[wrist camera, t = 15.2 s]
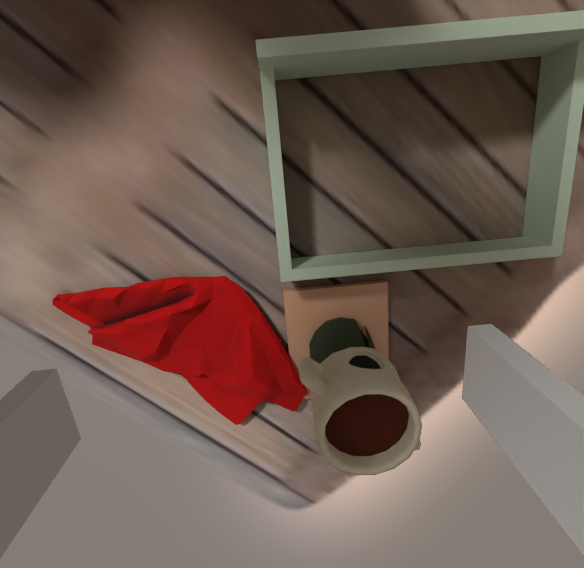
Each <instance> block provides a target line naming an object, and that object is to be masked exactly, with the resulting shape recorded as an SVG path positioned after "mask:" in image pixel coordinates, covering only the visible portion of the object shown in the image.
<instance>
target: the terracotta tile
mask: <svg viewBox="0 0 584 568" xmlns="http://www.w3.org/2000/svg"><path fill="white" fill-rule="evenodd" d="M283 297H284V307H285V317H286V327H287V337H288V347H289V357H290V359H291V361H292V362H293V365H294V367H295V369H296V371H297V374H298V376H299V378H300V374H299V361H300V359H301V358H302V357H304V356H306V357H309V358H310V350H309V343H310V341H311V339H312V337H313V335H314V332H315V331H316V330H317V329H318V328H319V327H320V326H321V325H322V324H323V323H324V322H326V321H328V320H332V319H335V318H339V317H343V318H352V319H355V320H356V321H357V324H358V327H359V329H360V330H361V331H362V332H363V334H364V335H365V336H366V337H367V335H366V332H365V329H364V326H365V327H366V328H367V330H368V332H369V334H370V336H371V338H372V340H373V343H374V346H375V350H377V351H379V352H381V353H382V354H383V355H384V356H385V357H386V358H387V359H388V360H389V352H388V282H387V281H386V280H377V281H367V282H356V283H345V284H334V285H324V286H313V287H302V288H291V289H283ZM306 388H307V387H306ZM307 391H308V394H307V395H306V396H304V397H303V399H308V398H311V390H310V389H309V388H307Z"/></svg>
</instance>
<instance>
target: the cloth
mask: <svg viewBox="0 0 584 568" xmlns="http://www.w3.org/2000/svg"><path fill="white" fill-rule="evenodd" d="M53 305H54V306H55V307H57V308H58V309H60V310H62V311H63V312H65V313H66V314H68V315H69V316H71V317H73V318H75V319H77V320H79V321H80V322H82V323H84V324H86V325H88V326H89V327H91V329H90V330H89V331H88V333H90V334H92V335H93V340H92V344H93V345H96V346H99V347H102V348H104V349H107V350H110V351H113V352H116V353H119V354H122V355H124V356H127V357H130V358H133V359H136V360H139V361H142V362H144V363H146V364H149V365H151V366H153V367H156V368H158V369H160V370H163V371H166V372H174V373H179V374H180V375H182V376H183V377H184V378H186V379H187V380H188V382H189V383H190V384H191V385H192V387H193V388H194V389H195V390H196V391H197V392H198V393H199V394H200V395H201V396H202V397H203V398H204V399H205V400H206V401H207V402H208V403H209V404H210V405H211V406H213V407H214V408H215V409H216V410H217V411H218V412H220V413H221V414H222V415H223V416H225V417H226V418H227V419H229V420H230V421H232V422H233V423H234V424H236V425H237V424H240V423H241V422H242V421H243V420H244V419H245V418H246V417H247V416H248V415H249V414H250V413H251V412H252V411H253V410H254V409H255V407H256V406H257V405H258V404H259V403H260V402H273V403H275V404H277V405H280V406H282V407H284V408H286V409H289V410H291V411H295V410H297V409H298V407H299V405H300V403H301V401H302V399H303V397H304V396H306V395H307V394H308V391H307V388H306V386H305V385H303V384H302V382H301V380H300V378H299V376H298V374H297V371H296V369H295V367H294V365H293V362H292V361H291V359H290V357H289V356H288V354H287V352H286V350H285V349H284V347H283V345H282V344H281V342H280V340H279V338H278V337H277V335H276V334H275V332H274V331H273V329H272V328H271V326H270V325H269V323H268V322H267V320H266V319H265V317H264V316H263V314H262V313H261V311H260V310H259V308H258V307H257V306H256V304H255V303H254V302H253V301H252V299H251V298H250V297H249V295H248V294H247V293H246V292H245V291H244V290H243V289H242V288H241V287H240V286H238V285H237V284H236V283H234V282H233V281H231V280H230V279H229V278H227V277H226V276H219V277H174V278H165V279H159V280H153V281H147V282H140V283H136V284H134V285H132V286H129V287H114V288H101V289H95V290H90V291H85V292H80V293H74V294H61V295H57V296H56V297H55V298H54V299H53Z"/></svg>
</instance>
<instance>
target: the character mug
mask: <svg viewBox="0 0 584 568" xmlns="http://www.w3.org/2000/svg"><path fill="white" fill-rule="evenodd" d="M364 329H365V332H366V335H367V337H366V336H365V335H364V334H363V332H362V331H361V330H360V329H359V327H358V324H357V321H356V320H355V319H352V318H343V317H339V318H335V319H332V320H328V321H326V322H324V323H323V324H322V325H321V326H320V327H319V328H318V329H317V330H316V331H315V332H314V335H313V337H312V339H311V341H310V343H309V350H310V358H309V357H306V356H304V357H302V358H301V359H300V361H299V374H300V380H301V382H302V384H303V385H305V386H306V387H307V388H309V389H310V390H311V400H312V408H313V415H314V422H315V430H316V437H317V441H318V444H319V446H320V448H321V450H322V453H323V455H324V457H325V459H327V460H328V461H329V462H330V463H331V464H332V465H334V466H335V467H336V468H337V469H339V470H342V471H345V472H348V473H351V474H354V475H376V474H379V473H382V472H385V471H389V470H392V469H394V468H396V467H397V466H399V465H400V464H401V463H402V462H404V461H405V460H407V459H408V458H409V457H410V456H411V454H412V453H413V451H414V450H418V449H420V445H421V443H420V434H421V428H422V424H421V420H420V416H419V412H418V409H417V407H416V405H415V404H414V402H413V400H412V398H411V396H410V393H409V391H408V390H407V389H406V387H405V386H404V385H403V384H402V382H401V381H400V378H399V376H398V373H397V371H396V368H395V367H394V366H393V365H392V364H391V362H390V361H389V360H388V359H387V358H386V357H385V356H384V355H383V354H382V353H381V352H379V351H377V350H375V346H374V343H373V340H372V338H371V336H370V334H369V332H368V330H367V328H366V327H365V326H364Z"/></svg>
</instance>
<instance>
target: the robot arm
mask: <svg viewBox="0 0 584 568" xmlns="http://www.w3.org/2000/svg"><path fill="white" fill-rule="evenodd" d="M462 398H463V400H464V401H465V402H466V404H467V405H468V406H469V407H470V409H471V410H472V411H473V413H474V414H475V415H476V417H477V418H478V419H479V420H480V422H481V423H482V424H483V426H484V427H485V428H486V430H487V431H488V432H489V433H490V435H491V436H492V437H493V438H494V440H495V441H496V443H497V444H498V445H499V446H500V448H501V449H502V450H503V452H504V453H505V454H506V456H507V457H508V458H509V459H510V461H511V462H512V463H513V464H514V466H515V467H516V468H517V470H518V471H519V472H520V474H521V475H522V476H523V478H524V479H525V480H526V482H527V483H528V484H529V485H530V487H531V488H532V489H533V490H534V492H535V493H536V494H537V496H538V497H539V498H540V500H541V501H542V502H543V504H544V505H545V506H546V507H547V509H548V510H549V511H550V513H551V514H552V515H553V517H554V518H555V519H556V520H557V522H558V523H559V524H560V526H561V527H562V528H563V530H564V531H565V532H566V533H567V535H568V536H569V537H570V539H571V540H572V541H573V543H574V544H575V545H576V546H577V548H578V549H579V550H580V551H581V553H582V554H583V556H584V396H583V395H582V394H580V393H579V392H578V391H576V390H575V389H574V388H573V387H571V386H570V385H569V384H567V383H566V382H565V381H564V380H562V379H561V378H559V376H557V375H556V374H555V373H553V372H552V371H551V370H550V369H548V368H547V367H546V366H545V365H543V364H542V363H541V362H539V361H538V360H537V359H536V358H534V357H533V356H532V355H531V354H529V353H528V352H527V351H525V350H524V349H523V348H522V347H520V346H519V345H518V344H516V343H515V342H514V341H513V340H511V339H510V338H509V337H508V336H506V335H505V334H504V333H502V332H501V331H500V330H499V329H497V328H496V327H495V326H494V325H492V324H484V325H474V326H468V329H467V341H466V354H465V367H464V379H463V392H462ZM80 439H81V437H80V434H79V431H78V428H77V425H76V423H75V420H74V417H73V414H72V411H71V409H70V406H69V403H68V400H67V397H66V394H65V392H64V389H63V386H62V383H61V380H60V377H59V375H58V372H57V369H49V370H39V371H32V372H31V373H30V374H28V375H27V376H26V377H25V378H24V379H23V380H22V381H21V382H20V383H19V384H17V385H16V386H15V387H14V388H13V389H12V390H11V391H10V392H9V393H8V394H6V395H5V396H4V397H3V398H2V399H1V400H0V558H1V557H2V555H3V554H4V552H5V551H6V549H7V548H8V546H9V545H10V543H11V542H12V540H13V539H14V537H15V536H16V534H17V533H18V531H19V530H20V528H21V527H22V526H23V524H24V523H25V521H26V519H27V518H28V516H29V515H30V514H31V512H32V511H33V509H34V508H35V506H36V505H37V503H38V502H39V500H40V499H41V497H42V496H43V494H44V493H45V491H46V490H47V488H48V487H49V485H50V484H51V482H52V481H53V479H54V478H55V476H56V475H57V473H58V472H59V470H60V469H61V467H62V466H63V465H64V463H65V462H66V460H67V459H68V457H69V456H70V454H71V452H72V451H73V450H74V448H75V446H76V445H77V444H78V442H79V441H80Z"/></svg>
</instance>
